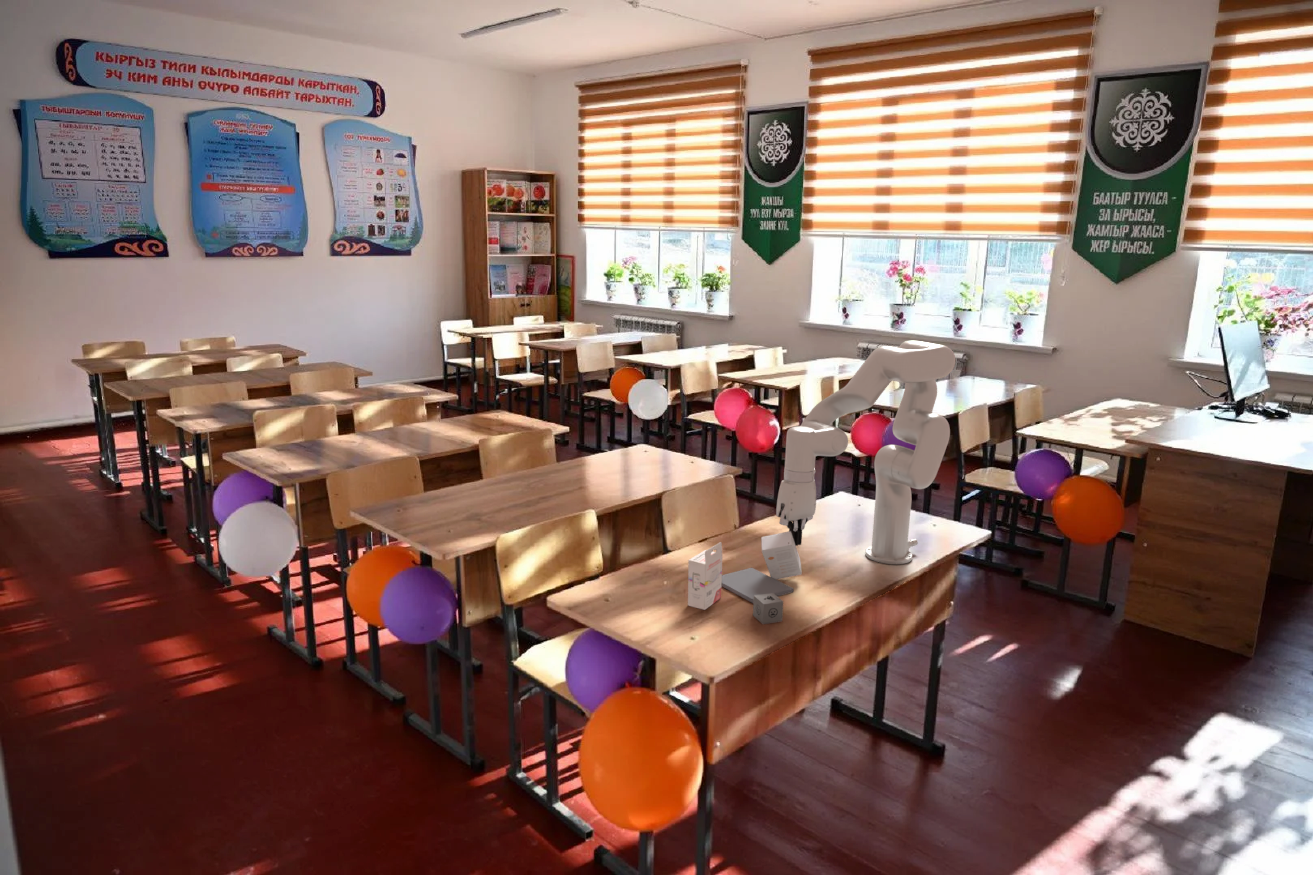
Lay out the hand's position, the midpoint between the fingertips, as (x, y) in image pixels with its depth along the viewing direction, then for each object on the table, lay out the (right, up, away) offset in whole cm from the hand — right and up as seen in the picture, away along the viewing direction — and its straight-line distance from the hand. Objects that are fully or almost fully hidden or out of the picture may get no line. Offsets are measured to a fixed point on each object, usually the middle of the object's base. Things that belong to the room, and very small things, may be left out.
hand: (794, 543), depth 223 cm
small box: (-2, -7, 0) cm, 7 cm away
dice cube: (-10, -15, -23) cm, 29 cm away
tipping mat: (-12, -10, -5) cm, 16 cm away
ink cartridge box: (-24, -12, -15) cm, 31 cm away
